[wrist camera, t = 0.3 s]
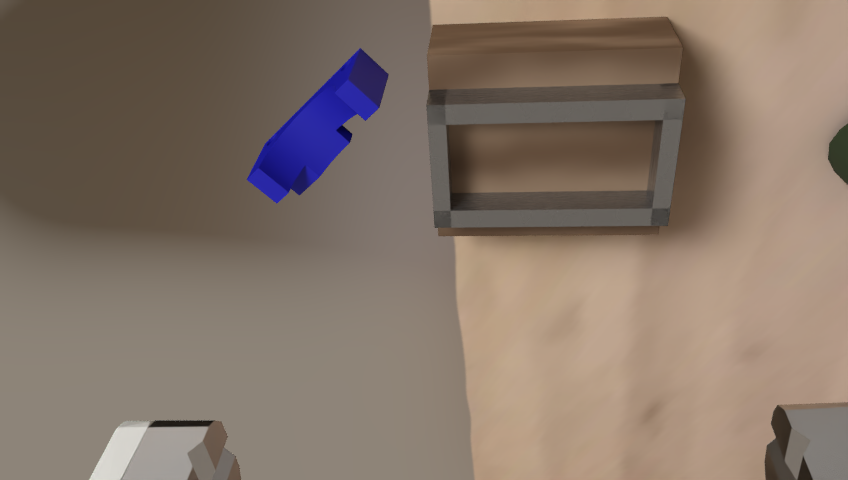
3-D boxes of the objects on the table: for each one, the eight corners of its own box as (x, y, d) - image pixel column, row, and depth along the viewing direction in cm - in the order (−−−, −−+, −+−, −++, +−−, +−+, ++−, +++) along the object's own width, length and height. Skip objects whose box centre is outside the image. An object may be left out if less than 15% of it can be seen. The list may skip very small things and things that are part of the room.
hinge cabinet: (432, 24, 58) (424, 70, 51) (666, 16, 56) (690, 62, 49) (442, 196, 66) (436, 254, 60) (646, 193, 65) (663, 253, 58)
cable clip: (306, 177, 67) (291, 215, 62) (265, 142, 65) (246, 179, 60) (402, 87, 61) (394, 121, 56) (360, 47, 60) (348, 79, 55)
